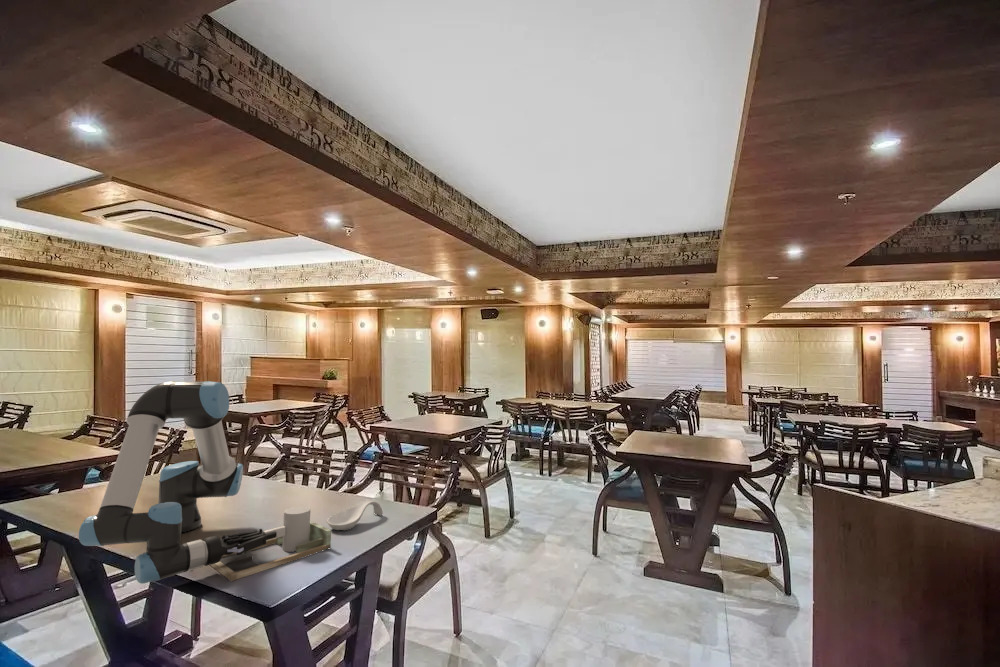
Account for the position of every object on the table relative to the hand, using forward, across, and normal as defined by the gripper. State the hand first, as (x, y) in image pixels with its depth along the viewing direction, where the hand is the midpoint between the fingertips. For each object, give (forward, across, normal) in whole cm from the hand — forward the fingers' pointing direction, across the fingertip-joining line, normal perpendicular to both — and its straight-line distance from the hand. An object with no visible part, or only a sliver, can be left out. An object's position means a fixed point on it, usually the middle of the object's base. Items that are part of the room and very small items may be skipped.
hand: (284, 530), depth 153 cm
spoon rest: (+31, -6, -7) cm, 32 cm away
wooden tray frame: (-4, 0, -6) cm, 8 cm away
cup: (+4, 0, -7) cm, 8 cm away
